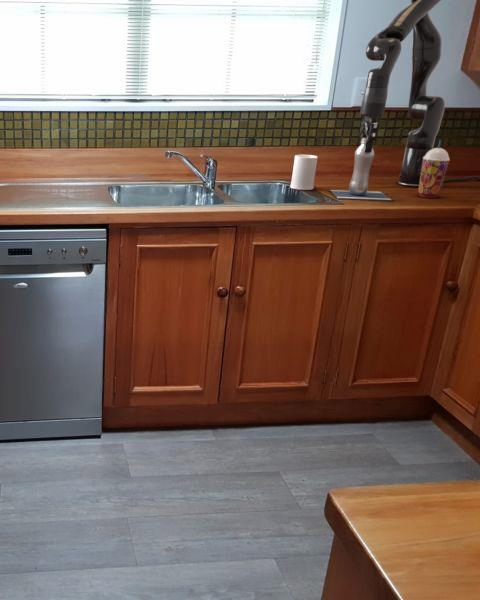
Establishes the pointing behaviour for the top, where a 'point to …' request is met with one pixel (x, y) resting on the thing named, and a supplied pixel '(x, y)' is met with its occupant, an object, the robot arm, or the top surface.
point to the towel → (367, 196)
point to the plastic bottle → (361, 170)
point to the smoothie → (433, 172)
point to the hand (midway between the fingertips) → (365, 150)
